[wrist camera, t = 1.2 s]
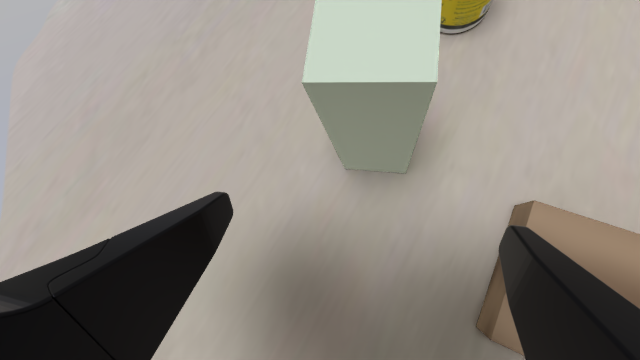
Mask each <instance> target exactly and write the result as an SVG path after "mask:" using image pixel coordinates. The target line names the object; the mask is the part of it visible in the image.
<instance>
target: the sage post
mask: <svg viewBox="0 0 640 360" xmlns="http://www.w3.org/2000/svg"><path fill="white" fill-rule="evenodd" d="M441 3H442V0H316V1H315V7H314V13H313V19H312V25H311V31H310V37H309V43H308V49H307V55H306V61H305V67H304V73H303V78H302V84H303V86H304V88H305V90H306V92H307V94H308V96H309V98H310V100H311V102H312V104H313V106H314V108H315V110H316V112H317V114H318V116H319V118H320V120H321V122H322V124H323V126H324V128H325V130H326V132H327V134H328V136H329V138H330V140H331V142H332V144H333V146H334V148H335V150H336V152H337V154H338V156H339V158H340V160H341V162H342V164H343V166H344V168H345V169H354V170H367V171H379V172H392V173H405V174H406V171H407V168H408V165H409V162H410V159H411V156H412V153H413V150H414V148H415V145H416V142H417V139H418V136H419V133H420V130H421V127H422V124H423V121H424V118H425V116H426V113H427V110H428V107H429V104H430V101H431V98H432V95H433V92H434V89H435V87H436V84H437V74H438V57H439V39H440V21H441Z"/></svg>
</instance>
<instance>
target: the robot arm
mask: <svg viewBox="0 0 640 360" xmlns="http://www.w3.org/2000/svg"><path fill="white" fill-rule="evenodd" d="M232 216H233V208H232V205H231V201H230V198H229V195H228V194H227V193H225V192H214V193H212V194H210V195H207V196H205V197H203V198H200V199H198V200H196V201H194V202H191V203H189V204H187V205H184V206H182V207H180V208H178V209H175V210H173V211H171V212H168V213H166V214H164V215H162V216H159V217H157V218H155V219H152V220H150V221H148V222H146V223H143V224H141V225H139V226H136V227H134V228H132V229H130V230H127V231H125V232H123V233H120V234H118V235H116V236H114V237H112V238H111V239H107V240H104V241H102V242H100V243H98V244H95V245H93V246H91V247H88V248H86V249H83V250H81V251H79V252H76V253H74V254H71V255H69V256H66V257H64V258H61V259H59V260H56V261H54V262H51V263H49V264H46V265H44V266H41V267H38V268H36V269H33V270H31V271H28V272H25V273H23V274H20V275H18V276H15V277H13V278H10V279H7V280H5V281H2V282H0V360H151V359H152V357H153V355H154V354H155V352H156V350H157V349H158V347H159V345H160V344H161V342H162V340H163V339H164V337H165V335H166V334H167V332H168V330H169V329H170V327H171V325H172V324H173V322H174V320H175V319H176V317H177V315H178V314H179V312H180V310H181V309H182V307H183V305H184V304H185V302H186V301H187V299H188V297H189V296H190V294H191V292H192V291H193V289H194V287H195V286H196V284H197V282H198V281H199V279H200V277H201V276H202V274H203V272H204V271H205V269H206V267H207V266H208V264H209V262H210V261H211V259H212V257H213V256H214V254H215V252H216V250H217V248H218V246H219V244H220V242H221V240H222V238H223V236H224V234H225V232H226V229H227V227H228V225H229V223H230V221H231V219H232ZM499 257H500V262H501V268H502V273H503V279H504V284H505V289H506V295H507V300H508V304H509V308H510V311H511V314H512V318H513V321H514V324H515V327H516V330H517V334H518V337H519V340H520V343H521V346H522V349H523V353H524V356H525V359H526V360H640V308H638V307H637V306H635V305H634V304H633V303H631V302H630V301H629V300H627V299H626V298H624V297H623V296H622V295H620V294H619V293H618V292H616V291H615V290H613V289H612V288H611V287H609V286H608V285H607V284H605V283H604V282H602V281H601V280H600V279H598V278H597V277H596V276H594V275H593V274H591V273H590V272H589V271H587V270H586V269H585V268H583V267H582V266H580V265H579V264H578V263H576V262H575V261H574V260H572V259H571V258H569V257H568V256H567V255H565V254H564V253H563V252H561V251H560V250H558V249H557V248H556V247H554V246H553V245H552V244H550V243H549V242H547V241H546V240H545V239H543V238H542V237H540V236H539V235H538V234H536V233H535V232H534V231H532V230H531V229H529V228H528V227H525V226H518V225H510V226H508V227H507V229H506V231H505V233H504V236H503V238H502V240H501V243H500V245H499Z"/></svg>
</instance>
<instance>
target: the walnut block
mask: <svg viewBox="0 0 640 360" xmlns="http://www.w3.org/2000/svg"><path fill="white" fill-rule="evenodd" d="M510 225H518V226H525V227H528V228H529V229H531V230H532V231H534V232H535V233H536V234H538V235H539V236H540V237H542V238H543V239H545V240H546V241H547V242H549V243H550V244H552V245H553V246H554V247H556V248H557V249H558V250H560V251H561V252H563V253H564V254H565V255H567V256H568V257H569V258H571V259H572V260H574V261H575V262H576V263H578V264H579V265H580V266H582V267H583V268H585V269H586V270H587V271H589V272H590V273H591V274H593V275H594V276H596V277H597V278H598V279H600V280H601V281H602V282H604V283H605V284H607V285H608V286H609V287H611V288H612V289H613V290H615V291H616V292H618V293H619V294H620V295H622V296H623V297H624V298H626V299H627V300H629V301H630V302H631V303H633V304H634V305H635V306H637V307H638V308H640V234H637V233H634V232H631V231H628V230H625V229H622V228H618V227H615V226H612V225H609V224H606V223H603V222H600V221H597V220H594V219H590V218H587V217H584V216H581V215H578V214H575V213H572V212H569V211H565V210H562V209H559V208H556V207H553V206H550V205H547V204H544V203H541V202H537V201H530V202H527V203H523V204H519V205H515V206H514V209H513V212H512V215H511V218H510V222H509V225H508V226H510ZM476 327H477V328H478V329H479V330H480V331H482V332H483V333H484V334H485V335H486V336H487V337H488V338H489V339H490V340H492V341H494V342H496V343H499V344H501V345H503V346H505V347H507V348H509V349H511V350H513V351H515V352H517V353H520V354H522V355H524V353H523V349H522V346H521V343H520V340H519V337H518V334H517V330H516V327H515V324H514V321H513V318H512V314H511V311H510V308H509V304H508V300H507V295H506V289H505V284H504V279H503V273H502V268H501V262H500V257H499V256H498V259H497V262H496V266H495V269H494V272H493V275H492V278H491V281H490V284H489V287H488V291H487V294H486V297H485V300H484V303H483V306H482V309H481V313H480V316H479V319H478V322H477V325H476Z"/></svg>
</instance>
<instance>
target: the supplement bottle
mask: <svg viewBox="0 0 640 360" xmlns="http://www.w3.org/2000/svg"><path fill="white" fill-rule="evenodd" d="M491 3H492V0H442V3H441V21H440V32H443V33H459V32H463V31H466V30H469V29H471V28H473V27H474V26H476V25H477V24H478V23H479V22H480V21H481V20H482V19H483V18H484V16H485V15H486V13H487V11H488V9H489V7H490V5H491Z"/></svg>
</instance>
